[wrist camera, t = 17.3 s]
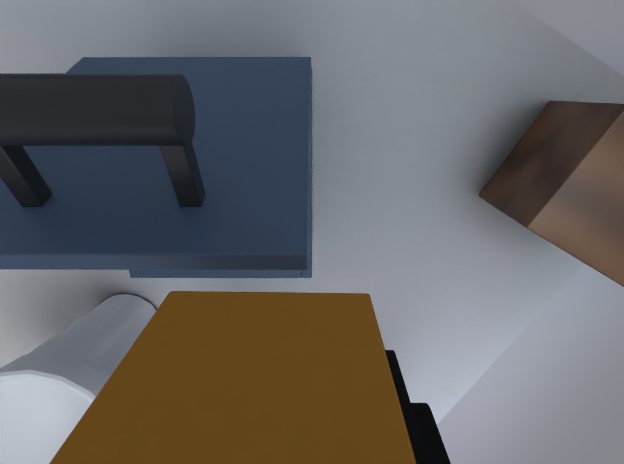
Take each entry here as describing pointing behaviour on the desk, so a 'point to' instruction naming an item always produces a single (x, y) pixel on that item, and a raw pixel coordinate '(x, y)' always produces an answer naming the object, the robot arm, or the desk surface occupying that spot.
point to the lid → (157, 165)
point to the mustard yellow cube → (248, 386)
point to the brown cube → (569, 182)
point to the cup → (64, 379)
